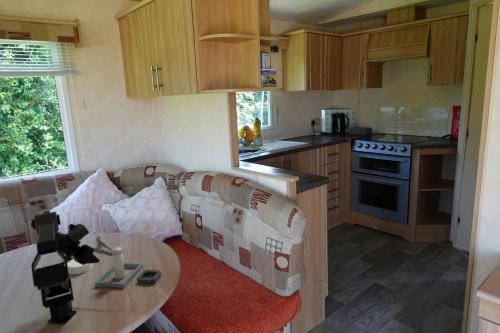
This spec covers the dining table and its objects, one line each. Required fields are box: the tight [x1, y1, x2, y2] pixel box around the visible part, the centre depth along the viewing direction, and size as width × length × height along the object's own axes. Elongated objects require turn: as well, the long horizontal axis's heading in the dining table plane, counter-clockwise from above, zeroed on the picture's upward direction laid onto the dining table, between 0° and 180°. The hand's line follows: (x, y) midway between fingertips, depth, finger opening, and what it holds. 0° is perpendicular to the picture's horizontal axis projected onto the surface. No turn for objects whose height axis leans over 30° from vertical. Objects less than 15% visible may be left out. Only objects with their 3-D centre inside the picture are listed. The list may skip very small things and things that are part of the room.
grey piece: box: [134, 269, 164, 287], centre depth 137 cm, size 10×8×3 cm
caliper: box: [95, 235, 114, 252], centre depth 165 cm, size 20×1×6 cm, turn 54°
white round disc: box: [67, 259, 93, 275], centre depth 149 cm, size 10×10×4 cm
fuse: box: [110, 246, 127, 280], centre depth 139 cm, size 4×4×12 cm
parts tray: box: [94, 262, 144, 289], centre depth 140 cm, size 16×12×2 cm
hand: (92, 258), depth 129 cm, fingers open, 9 cm apart
